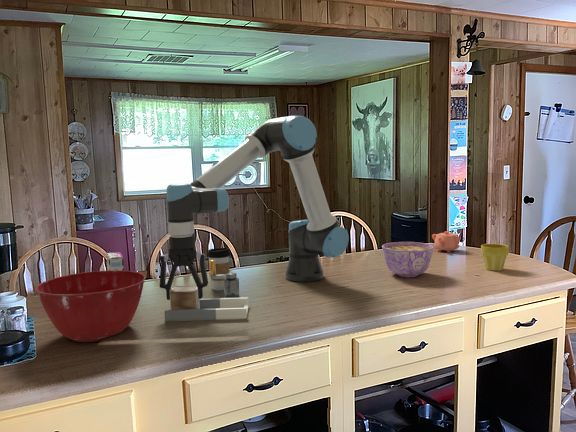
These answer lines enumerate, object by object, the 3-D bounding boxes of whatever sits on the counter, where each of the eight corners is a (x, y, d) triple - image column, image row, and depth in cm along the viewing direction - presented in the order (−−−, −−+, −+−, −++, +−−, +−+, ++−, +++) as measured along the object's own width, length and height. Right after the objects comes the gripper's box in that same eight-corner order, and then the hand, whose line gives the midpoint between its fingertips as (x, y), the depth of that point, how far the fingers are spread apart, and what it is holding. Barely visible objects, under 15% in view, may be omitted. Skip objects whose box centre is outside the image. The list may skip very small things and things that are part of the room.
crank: (236, 277, 170) (236, 258, 169) (236, 279, 167) (235, 260, 166) (210, 278, 170) (209, 259, 169) (209, 280, 166) (208, 261, 165)
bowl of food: (426, 283, 188) (426, 252, 186) (374, 277, 198) (374, 248, 196) (439, 271, 205) (439, 243, 204) (391, 267, 215) (391, 240, 214)
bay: (248, 309, 162) (248, 297, 161) (246, 321, 150) (246, 308, 149) (173, 311, 161) (172, 299, 161) (165, 324, 149) (164, 311, 149)
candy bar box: (126, 304, 170) (123, 256, 168) (111, 306, 168) (107, 258, 166) (123, 296, 181) (120, 251, 179) (108, 298, 179) (105, 252, 177)
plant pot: (495, 265, 214) (495, 242, 213) (513, 270, 204) (514, 246, 203) (475, 267, 210) (475, 244, 209) (493, 273, 201) (493, 248, 199)
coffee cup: (227, 291, 183) (225, 251, 181) (205, 291, 185) (203, 250, 183) (234, 285, 191) (233, 246, 189) (213, 285, 193) (211, 246, 191)
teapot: (438, 254, 240) (438, 233, 239) (430, 249, 252) (431, 230, 251) (462, 253, 241) (463, 233, 240) (453, 248, 253) (454, 229, 251)
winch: (246, 298, 174) (245, 275, 173) (244, 306, 165) (243, 282, 164) (220, 299, 174) (219, 276, 173) (217, 307, 165) (216, 283, 164)
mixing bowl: (69, 318, 157) (65, 269, 155) (160, 317, 156) (157, 268, 154) (19, 354, 129) (13, 295, 127) (129, 352, 128) (125, 293, 126)
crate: (199, 310, 159) (198, 285, 158) (195, 317, 152) (194, 291, 151) (176, 311, 159) (174, 285, 158) (171, 318, 151) (170, 292, 150)
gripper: (216, 232, 156) (219, 304, 159) (151, 234, 156) (155, 306, 158) (213, 236, 149) (216, 312, 151) (145, 238, 148) (149, 314, 151)
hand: (185, 309), depth 155 cm, fingers closed on crate, 7 cm apart
